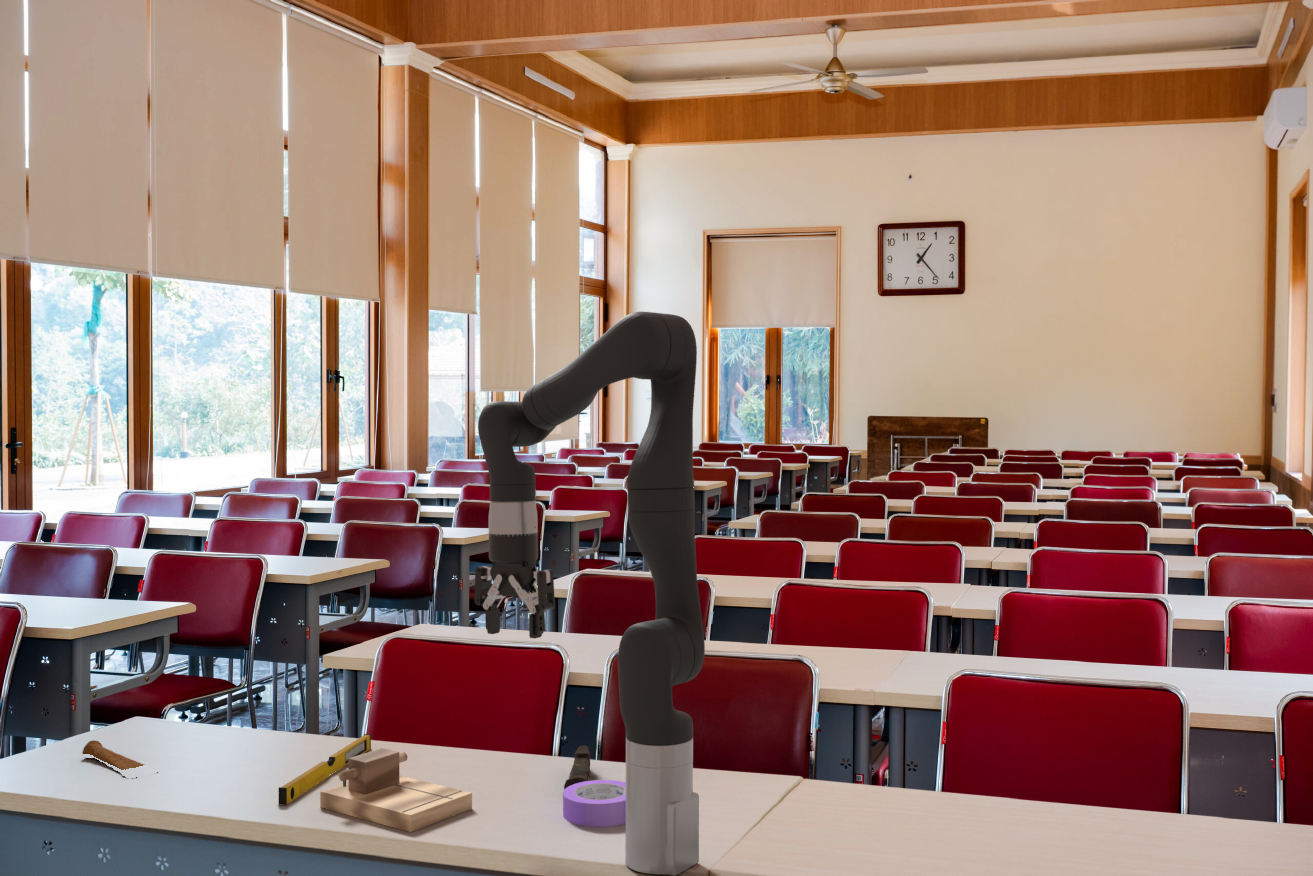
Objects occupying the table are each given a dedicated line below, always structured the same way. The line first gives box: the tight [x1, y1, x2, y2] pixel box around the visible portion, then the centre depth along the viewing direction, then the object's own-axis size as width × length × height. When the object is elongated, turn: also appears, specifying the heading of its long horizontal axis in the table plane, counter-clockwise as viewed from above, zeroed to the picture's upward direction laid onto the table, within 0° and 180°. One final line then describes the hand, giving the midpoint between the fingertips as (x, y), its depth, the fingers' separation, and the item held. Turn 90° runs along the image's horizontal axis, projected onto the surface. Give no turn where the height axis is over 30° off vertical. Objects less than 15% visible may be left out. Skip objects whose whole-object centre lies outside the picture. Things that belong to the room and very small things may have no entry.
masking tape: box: [562, 779, 626, 828], centre depth 181 cm, size 12×12×4 cm
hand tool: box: [563, 745, 591, 791], centre depth 197 cm, size 19×4×5 cm, turn 177°
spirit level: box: [278, 733, 372, 806], centre depth 202 cm, size 33×1×3 cm, turn 171°
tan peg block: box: [338, 748, 408, 794], centre depth 187 cm, size 4×13×5 cm, turn 146°
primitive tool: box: [81, 739, 145, 770], centre depth 206 cm, size 19×6×4 cm, turn 55°
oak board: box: [319, 775, 473, 833], centre depth 184 cm, size 20×13×3 cm, turn 56°
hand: (514, 635), depth 182 cm, fingers open, 8 cm apart
